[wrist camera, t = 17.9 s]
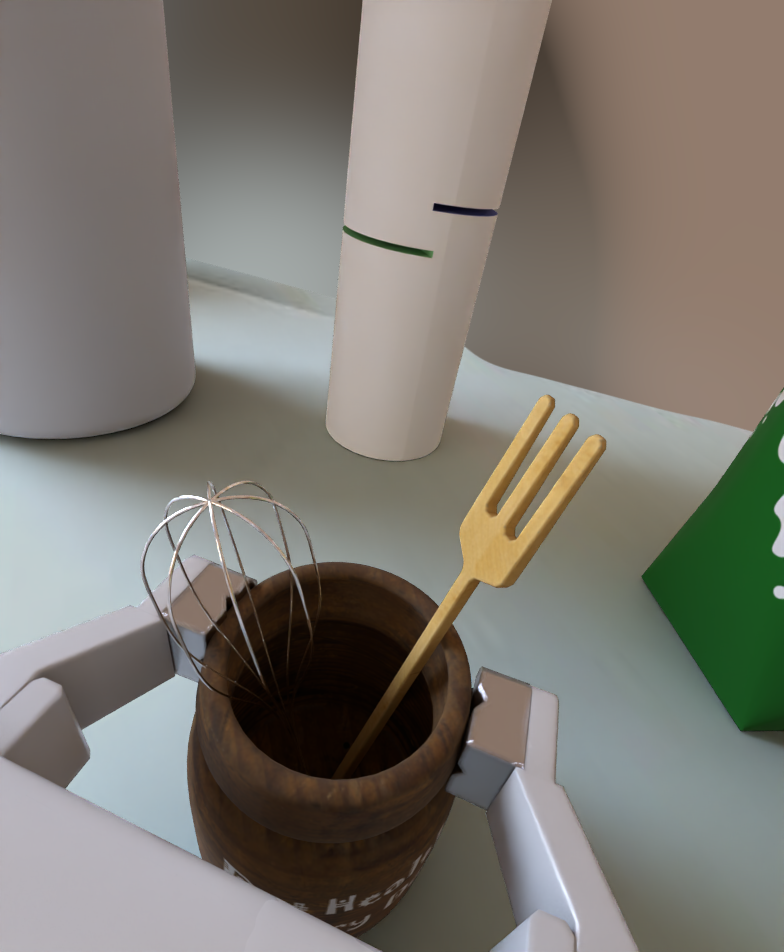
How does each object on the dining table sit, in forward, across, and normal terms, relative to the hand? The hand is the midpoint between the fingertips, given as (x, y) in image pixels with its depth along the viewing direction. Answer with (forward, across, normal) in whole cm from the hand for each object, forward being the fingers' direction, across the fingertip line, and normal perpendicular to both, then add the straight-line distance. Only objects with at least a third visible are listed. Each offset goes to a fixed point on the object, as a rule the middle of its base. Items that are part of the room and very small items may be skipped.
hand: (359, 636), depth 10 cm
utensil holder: (-1, 0, +7) cm, 7 cm away
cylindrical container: (+19, +5, +6) cm, 21 cm away
